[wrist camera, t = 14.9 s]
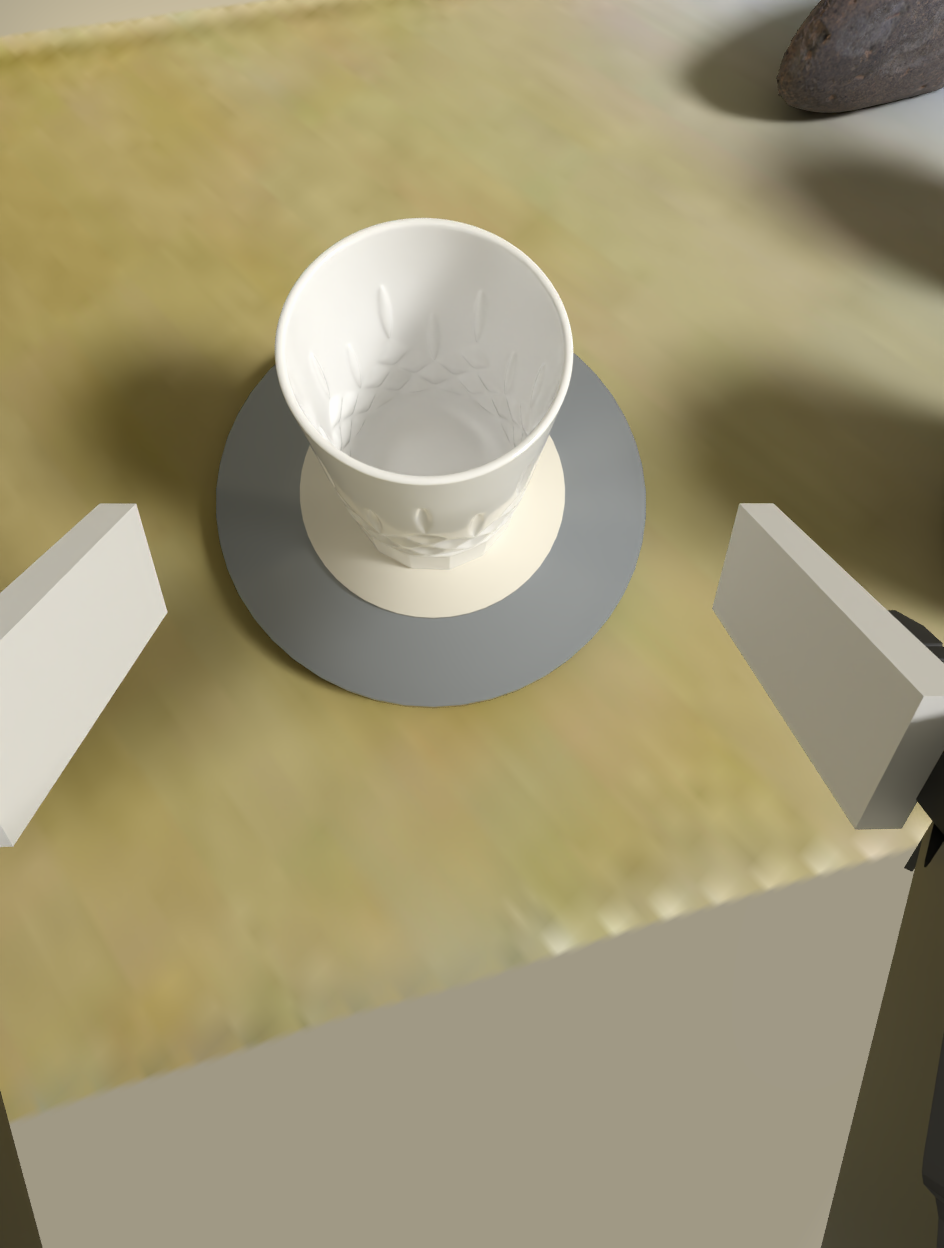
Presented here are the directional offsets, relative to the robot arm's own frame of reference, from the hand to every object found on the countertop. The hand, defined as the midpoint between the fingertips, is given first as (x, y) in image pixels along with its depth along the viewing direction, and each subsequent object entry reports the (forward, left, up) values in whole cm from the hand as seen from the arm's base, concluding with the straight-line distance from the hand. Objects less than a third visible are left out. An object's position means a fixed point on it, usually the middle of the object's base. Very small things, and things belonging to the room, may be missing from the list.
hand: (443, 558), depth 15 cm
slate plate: (-5, +4, -13) cm, 14 cm away
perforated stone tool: (-5, +37, -13) cm, 40 cm away
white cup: (-5, +4, -11) cm, 13 cm away
